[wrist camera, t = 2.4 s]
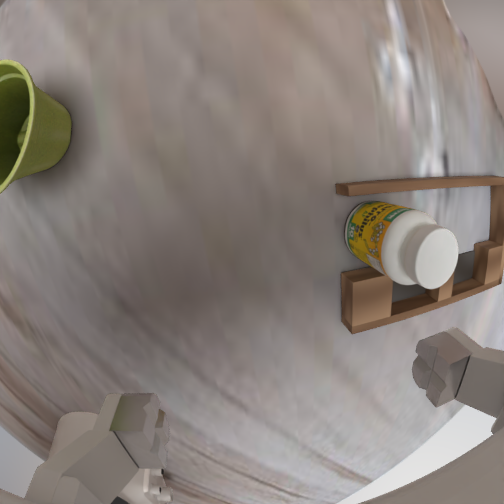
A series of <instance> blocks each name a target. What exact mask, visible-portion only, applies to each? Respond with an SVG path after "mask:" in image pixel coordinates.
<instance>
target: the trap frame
mask: <svg viewBox="0 0 504 504" xmlns="http://www.w3.org/2000/svg"><path fill="white" fill-rule="evenodd" d="M490 185H491V217H490V236H489V240H488V241H484V242H480V243H476V244H474V251H470V252H466V253H462V254H458V260H457V264H456V267H455V270H454V272H453V274H452V275H451V277H450V278H449V279H448V281H446V282H445V283H444V284H443V285H442V286H440V287H438V288H435V289H427V288H424V287H422V286H421V285H419V284H413V285H403V284H399V283H397V282H395V281H393V280H392V279H390V278H388V277H387V276H385V275H384V274H382V273H381V272H379V271H378V270H376V269H374V268H373V267H368V268H363V269H358V270H353V271H348V272H343V273H341V289H342V323H343V324H344V325H345V326H346V327H347V329H348V330H349V331H350V332H351V334H355V333H359V332H362V331H366V330H370V329H373V328H377V327H380V326H384V325H387V324H391V323H394V322H397V321H401V320H404V319H407V318H410V317H413V316H416V315H419V314H423V313H426V312H428V311H431V310H434V309H437V308H440V307H443V306H446V305H448V304H451V303H454V302H457V301H459V300H462V299H465V298H467V297H470V296H472V295H475V294H477V293H480V292H482V291H485V290H487V289H490V288H492V287H494V286H497V285H499V284H501V282H502V276H503V269H504V177H499V176H453V177H427V178H407V179H391V180H377V181H364V182H352V183H341V184H336V192H337V194H341V195H346V196H356V195H366V194H376V193H387V192H398V191H410V190H423V189H437V188H452V187H469V186H490Z"/></svg>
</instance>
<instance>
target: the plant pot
mask: <svg viewBox="0 0 504 504" xmlns="http://www.w3.org/2000/svg"><path fill="white" fill-rule="evenodd" d="M71 124H72V122H71V118H70V115H69V113H68V111H67V109H66V108H65V107H64V106H63V105H61V104H60V103H58V102H57V101H56V100H54V99H53V98H51V97H50V96H49V95H47V94H46V93H44V92H43V91H42V90H40V89H39V88H37V87H36V85H35V84H34V82H33V80H32V77H31V75H30V73H29V72H28V70H27V69H26V68H25V67H24V66H23V65H21V64H20V63H18V62H16V61H13V60H0V194H1V193H2V192H3V191H4V190H5V189H6V188H7V187H8V186H9V184H11V183H12V182H13V181H15V180H17V179H20V178H22V177H25V176H28V175H31V174H34V173H37V172H40V171H43V170H46V169H49V168H51V167H52V166H54V165H55V164H56V163H57V162H59V160H60V159H61V158H62V157H63V155H64V154H65V152H66V150H67V148H68V146H69V143H70V134H71Z"/></svg>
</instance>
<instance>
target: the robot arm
mask: <svg viewBox="0 0 504 504" xmlns="http://www.w3.org/2000/svg"><path fill="white" fill-rule="evenodd" d="M416 353H417V354H418V356H417V358H416V359H415V360H414V362H413V367H412V373H413V378H414V381H415V383H416V384H417V385H418V387H419V388H422V389H425V390H426V396H427V398H428V399H429V400H430V401H431V402H432V404H433V405H434V406H435V407H439V406H441V405H443V404H445V403H447V402H449V401H451V400H453V399H455V398H456V399H455V400H457V401H459V402H461V403H464V404H466V405H468V406H470V407H473V408H475V409H477V410H480V411H482V412H484V413H486V414H488V415H491V416H493V417H496V418H497V419H496V421H495V423H494V424H493V426H492V429H491V432H492V433H493V435H492V436H491V437H489V438H488V439H486V440H485V441H484V442H482V443H480V444H479V445H478V446H476V447H475V448H473V449H471V450H470V451H468V452H467V453H465V454H463V455H462V456H460V457H458V458H457V459H455V460H454V461H452V462H450V463H448V464H446V465H445V466H443V467H441V468H440V469H437V470H436V471H434V472H432V473H430V474H428V475H426V476H424V477H422V478H420V479H418V480H416V481H414V482H411V483H409V484H407V485H405V486H403V487H400V488H398V489H396V490H393V491H391V492H388V493H386V494H383V495H381V496H378V497H376V498H373V499H370V500H367V501H364V502H361V503H359V504H504V351H501V350H496V349H492V348H488V347H486V348H484V349H483V348H482V347H481V346H480V345H478V344H477V343H476V342H475V341H473V340H472V339H471V338H470V337H468V336H467V335H466V334H464V333H463V332H462V331H461V330H459V329H458V328H455V327H452V328H450V329H447V330H445V331H443V332H441V333H438V334H436V335H433V336H430V337H428V338H425V339H422V340H420V341H419V342H418V344H417V346H416ZM159 407H160V401H159V399H158V396H157V395H156V394H154V393H124V394H108V395H107V396H106V398H105V400H104V403H103V405H102V407H101V410H100V412H99V414H95V413H90V412H70V413H67V414H65V415H63V416H62V417H61V418H60V420H59V422H58V425H57V429H56V432H55V436H54V439H53V443H52V446H51V449H50V453H49V457H48V460H47V461H46V462H44V463H43V464H41V465H40V466H39V467H37V469H36V471H35V474H34V476H33V478H32V481H31V483H30V486H29V489H28V491H27V493H26V496H25V498H21V497H19V496H16V495H14V494H12V493H9V492H7V491H5V490H3V489H0V504H166V502H171V501H173V491H172V488H170V487H166V484H165V482H164V479H163V469H165V468H166V462H167V454H168V451H167V449H166V448H165V446H164V445H165V444H166V443H167V442H168V441H169V437H170V429H169V422H168V419H167V416H166V414H165V412H163V411H162V410H160V409H159Z"/></svg>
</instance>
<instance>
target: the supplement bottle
mask: <svg viewBox="0 0 504 504" xmlns="http://www.w3.org/2000/svg"><path fill="white" fill-rule="evenodd" d="M345 240H346V244H347V246H348V248H349V250H350V251H351V253H352V254H353V255H354V256H356V257H357V258H359V259H360V260H362V261H363V262H365V263H367V264H368V265H370V266H371V267H373V268H374V269H376V270H378V271H379V272H381V273H382V274H384V275H385V276H387V277H388V278H390V279H392V280H393V281H395V282H397V283H399V284H403V285H413V284H419V285H421V286H422V287H424V288H427V289H435V288H438V287H440V286H442V285H443V284H444V283H445V282H446V281H448V279H449V278H450V277H451V275H452V274H453V272H454V270H455V267H456V264H457V260H458V253H459V252H458V243H457V240H456V237H455V236H454V234H453V233H452V232H451V231H450V230H448V229H446V228H443V227H441V226H438V225H437V223H436V222H435V220H434V219H433V218H432V217H431V216H430V215H428V214H427V213H425V212H422V211H419V210H415V209H411V208H407V207H402V206H398V205H393V204H388V203H384V202H379V201H367V202H364V203H361V204H360V205H358V206H357V207H356V208H355V209H354V210H353V211H352V212H351V214H350V215H349V217H348V219H347V223H346V229H345Z"/></svg>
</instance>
